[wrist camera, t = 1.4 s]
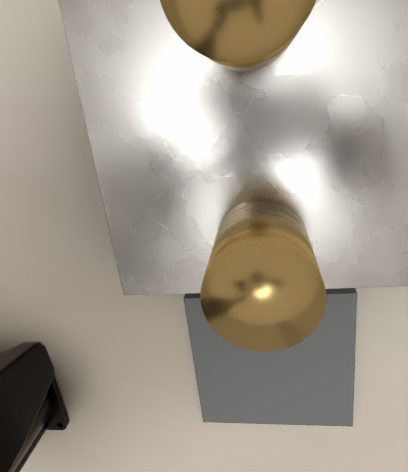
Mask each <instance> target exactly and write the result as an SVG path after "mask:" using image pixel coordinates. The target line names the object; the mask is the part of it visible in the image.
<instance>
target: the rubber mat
mask: <svg viewBox="0 0 408 472" xmlns="http://www.w3.org/2000/svg"><path fill="white" fill-rule="evenodd" d="M326 297H327V300H326V308H325V313H324V315H323V318H322V320H321V322H320V324H319V325H318V327H317V328H316V329H315V330H314V332H313V333H312V334H311V335H310V336H309V337H307V338H306V339H305V340H303V341H302V342H300V343H298V344H296V345H294V346H292V347H289V348H286V349H283V350H278V351H269V352H261V351H252V350H248V349H244V348H241V347H238V346H236V345H234V344H232V343H230V342H228V341H227V340H225V339H224V338H222V337H221V336H220V335H219V334H217V333H216V332H215V330H214V329H213V328H212V327H211V326H210V324H209V323H208V321H207V319H206V318H205V316H204V313H203V310H202V306H201V300H200V293H189V294H185V297H184V303H185V309H186V315H187V322H188V328H189V334H190V341H191V347H192V353H193V360H194V366H195V372H196V379H197V385H198V391H199V398H200V404H201V410H202V417H203V422H219V423H254V424H288V425H323V426H353V403H354V371H355V338H356V305H357V293H356V290H355V288H341V289H326Z"/></svg>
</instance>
